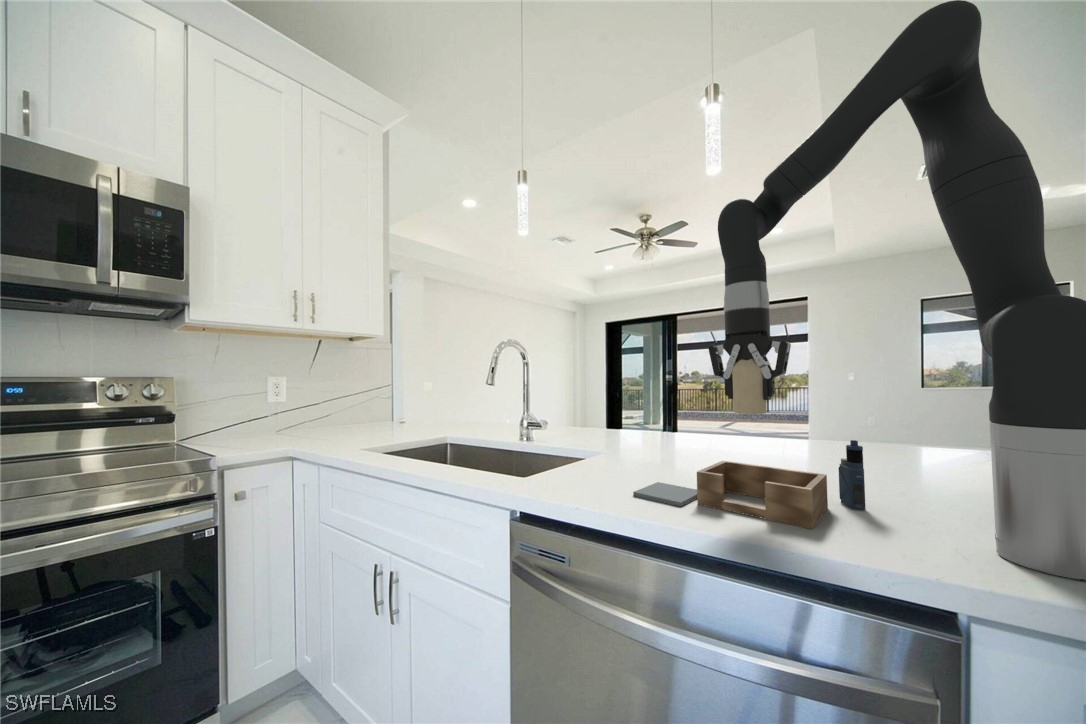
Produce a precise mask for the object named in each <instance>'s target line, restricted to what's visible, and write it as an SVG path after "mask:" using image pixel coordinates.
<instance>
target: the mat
mask: <svg viewBox="0 0 1086 724" xmlns="http://www.w3.org/2000/svg"><path fill="white" fill-rule="evenodd" d="M632 493H633V494H632V496H633V497H637V498H640V497H641V499H645V500H650V501H655V502H659V503H662V502H663V504H666V503H667V505H671V504H672V505H671V506H675V505H677V506H676V507H680V506H682V507H684V506H686V505H688V504H689V502H690V501H691V502H693V501H695V500H697V499H696V498H697V488H696V489H695V488H691V487H685V486H680V485H676V484H670V483H664V482H660V481H657V482H654V483H652V484H650V485H649V484H648V485H647V486H645V487H642V488H639V489H637V490H634V491H633V492H632ZM694 499H695V500H694ZM692 500H693V501H692ZM691 502H690V503H691ZM687 503H688V504H687ZM685 504H686V505H685ZM683 505H684V506H683Z"/></svg>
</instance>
